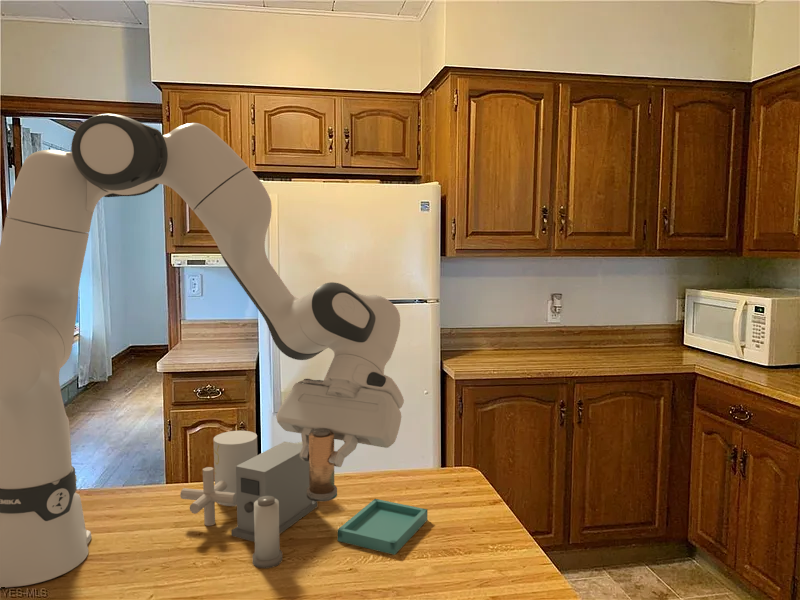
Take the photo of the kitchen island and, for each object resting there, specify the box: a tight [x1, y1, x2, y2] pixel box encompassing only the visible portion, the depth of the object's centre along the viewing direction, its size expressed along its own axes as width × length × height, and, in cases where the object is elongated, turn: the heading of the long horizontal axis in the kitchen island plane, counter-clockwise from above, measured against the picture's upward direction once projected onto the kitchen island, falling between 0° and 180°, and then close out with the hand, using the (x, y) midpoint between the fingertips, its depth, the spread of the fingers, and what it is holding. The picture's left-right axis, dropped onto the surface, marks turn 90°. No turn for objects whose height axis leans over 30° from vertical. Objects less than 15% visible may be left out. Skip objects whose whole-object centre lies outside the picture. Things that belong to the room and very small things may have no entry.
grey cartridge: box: [252, 496, 283, 569], centre depth 100 cm, size 5×5×10 cm
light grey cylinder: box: [213, 430, 259, 507], centre depth 124 cm, size 8×8×12 cm
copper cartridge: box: [307, 428, 338, 503], centre depth 97 cm, size 5×5×10 cm
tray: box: [336, 498, 428, 556], centre depth 111 cm, size 11×14×2 cm
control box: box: [231, 441, 318, 543], centre depth 114 cm, size 7×16×12 cm, turn 155°
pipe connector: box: [179, 466, 237, 527], centre depth 113 cm, size 10×10×10 cm
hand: (319, 462), depth 96 cm, fingers closed on copper cartridge, 4 cm apart
